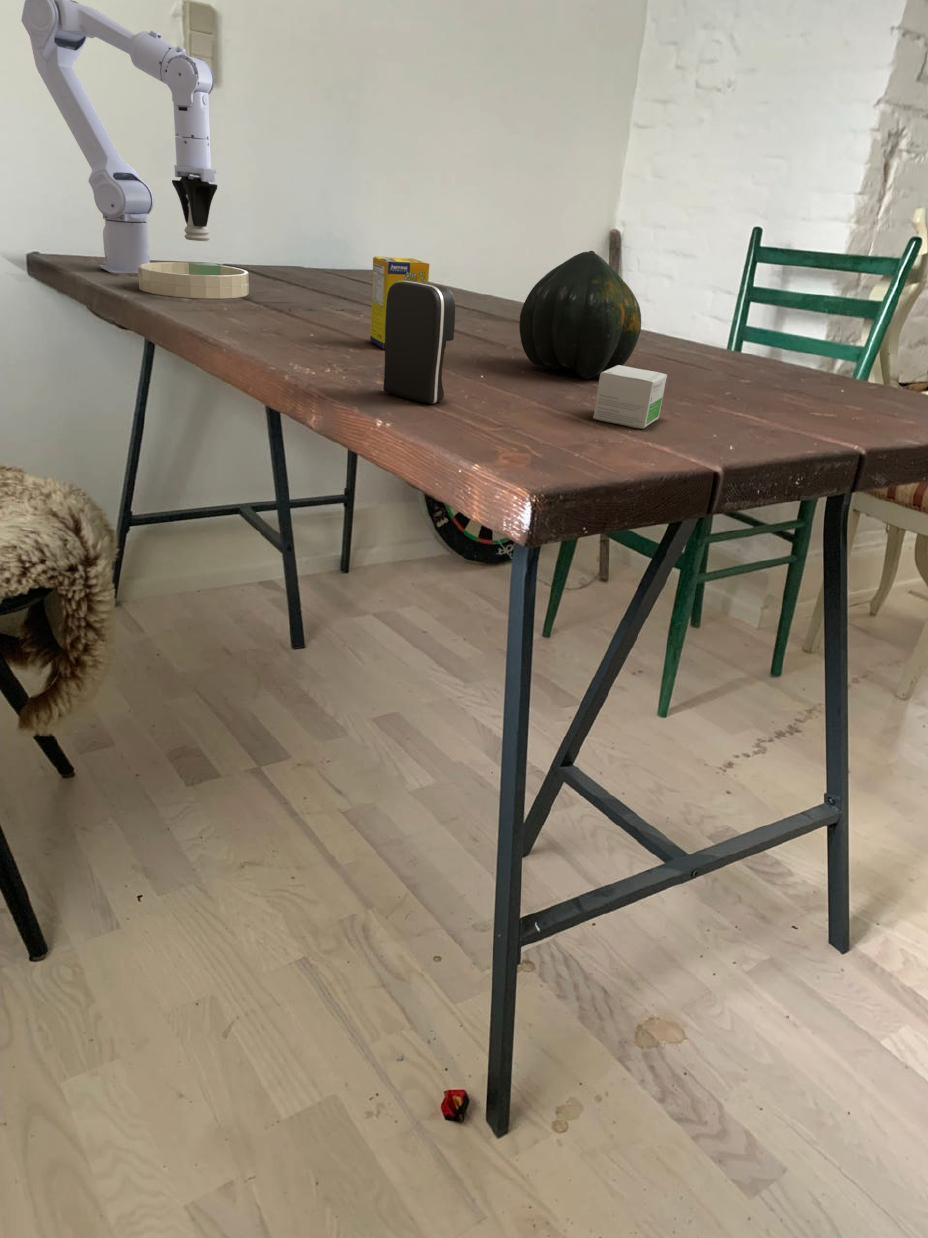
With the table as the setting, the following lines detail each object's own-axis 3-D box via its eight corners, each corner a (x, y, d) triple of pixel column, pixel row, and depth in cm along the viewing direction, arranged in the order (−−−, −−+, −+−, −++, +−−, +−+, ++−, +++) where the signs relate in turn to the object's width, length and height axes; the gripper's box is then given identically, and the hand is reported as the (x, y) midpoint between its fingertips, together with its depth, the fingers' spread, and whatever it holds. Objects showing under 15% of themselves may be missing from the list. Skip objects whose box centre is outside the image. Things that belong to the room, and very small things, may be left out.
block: (189, 287, 152) (188, 261, 150) (212, 287, 154) (212, 262, 152) (197, 290, 149) (196, 264, 147) (221, 290, 151) (220, 265, 149)
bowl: (126, 286, 151) (124, 260, 149) (226, 287, 160) (225, 263, 158) (158, 302, 138) (156, 274, 136) (264, 302, 147) (264, 276, 146)
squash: (565, 341, 103) (636, 236, 104) (479, 323, 113) (545, 228, 114) (617, 416, 113) (681, 319, 114) (534, 394, 123) (594, 306, 124)
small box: (645, 430, 91) (653, 380, 89) (591, 419, 93) (598, 371, 91) (660, 419, 95) (669, 372, 93) (608, 410, 97) (616, 363, 95)
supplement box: (425, 350, 120) (430, 262, 116) (382, 349, 118) (385, 260, 113) (411, 342, 125) (415, 257, 121) (369, 341, 123) (372, 255, 118)
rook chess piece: (182, 237, 162) (179, 188, 159) (207, 239, 164) (205, 190, 160) (186, 240, 159) (184, 189, 155) (212, 241, 160) (210, 191, 157)
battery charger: (454, 401, 95) (463, 286, 90) (430, 406, 92) (438, 287, 87) (403, 388, 99) (409, 277, 94) (380, 392, 96) (385, 278, 91)
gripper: (231, 141, 151) (233, 229, 157) (200, 139, 162) (203, 222, 168) (189, 137, 147) (193, 228, 153) (161, 135, 158) (165, 220, 164)
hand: (196, 225), depth 160 cm, fingers closed on rook chess piece, 3 cm apart
